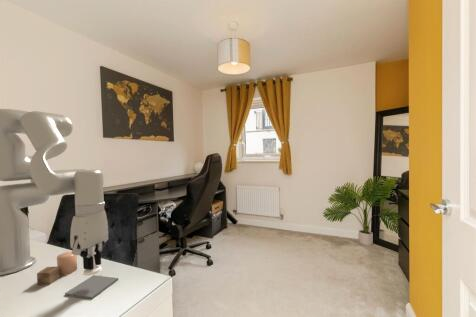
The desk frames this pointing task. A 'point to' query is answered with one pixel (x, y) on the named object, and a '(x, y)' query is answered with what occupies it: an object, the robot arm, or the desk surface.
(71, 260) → the peach rounded dome
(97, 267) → the chess piece
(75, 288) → the coaster
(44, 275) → the walnut block
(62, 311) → the desk surface
